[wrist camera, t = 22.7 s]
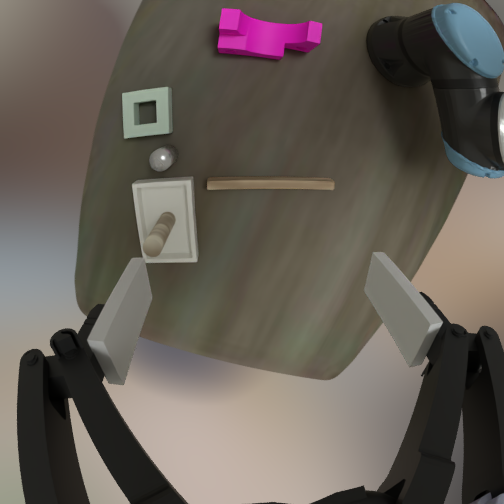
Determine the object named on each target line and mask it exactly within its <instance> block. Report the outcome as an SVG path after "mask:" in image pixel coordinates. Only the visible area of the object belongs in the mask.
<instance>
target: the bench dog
mask: <svg viewBox="0 0 504 504" xmlns="http://www.w3.org/2000/svg"><path fill="white" fill-rule="evenodd" d="M177 158H178V151H177V149H176V148H175V147H174V146H172V145H165V146H163V147H161V148H159V149H157V150H155V151H154V152H152V154H151V155H150V158H149V163H150V165H151V167H152V168H153V169H154V170H156V171H164V170H166V169H168V168H169V167H170V166H171V165H172V164H173V163H174V162H175V161H176V160H177Z"/></svg>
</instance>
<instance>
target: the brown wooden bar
mask: <svg viewBox="0 0 504 504" xmlns="http://www.w3.org/2000/svg"><path fill="white" fill-rule="evenodd" d="M334 185H335V182H334V181H333V180H332V179H330V178H320V177H282V176H242V177H208V180H207V190H216V189H321V190H334Z"/></svg>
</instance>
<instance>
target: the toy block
mask: <svg viewBox="0 0 504 504" xmlns="http://www.w3.org/2000/svg"><path fill="white" fill-rule="evenodd" d="M321 31H322V24H321V23H317V22H313V21H308V22H305V23H301V24H278V23H270V22H265V21H261V20H257V19H254V18H251V17H249V16H247V15H245V14H243V13H242V11H241V10H238V9H224V8H222V13H221V19H220V25H219V32H220V35H219V42H218V51H219V53H226V54H237V55H247V56H256V57H263V58H270V59H277V60H280V59H281V58H282V57H283V54H284V48H288V49H293V50H298V51H303V52H310V51H311V50H312V49H314V48H315V47H316V46H318V45H319V44H320V40H321Z"/></svg>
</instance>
